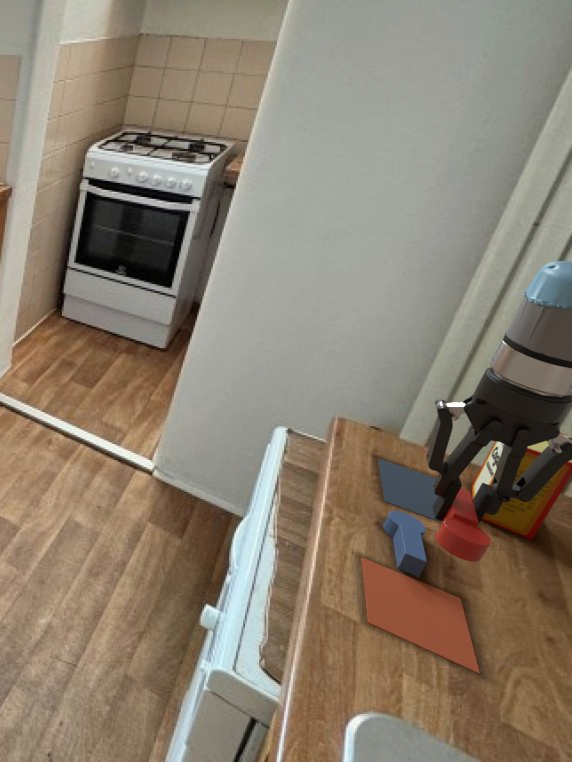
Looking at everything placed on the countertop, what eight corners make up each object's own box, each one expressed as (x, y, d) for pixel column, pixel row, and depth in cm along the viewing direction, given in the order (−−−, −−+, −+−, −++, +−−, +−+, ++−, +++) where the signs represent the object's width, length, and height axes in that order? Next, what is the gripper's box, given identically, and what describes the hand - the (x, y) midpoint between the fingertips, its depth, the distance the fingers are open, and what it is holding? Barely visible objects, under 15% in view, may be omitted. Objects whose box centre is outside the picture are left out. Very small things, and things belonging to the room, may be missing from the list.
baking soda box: (530, 541, 96) (578, 463, 90) (473, 518, 100) (515, 442, 94) (524, 507, 102) (568, 432, 96) (470, 487, 106) (509, 414, 101)
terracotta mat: (459, 600, 86) (460, 598, 86) (478, 676, 77) (480, 673, 76) (360, 559, 92) (361, 557, 92) (366, 624, 83) (368, 622, 82)
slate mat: (450, 485, 107) (451, 483, 107) (464, 533, 97) (466, 531, 97) (377, 460, 112) (378, 458, 112) (383, 503, 103) (384, 501, 103)
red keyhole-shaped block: (427, 497, 88) (437, 479, 86) (468, 513, 85) (479, 494, 84) (437, 549, 80) (448, 529, 78) (483, 568, 77) (496, 548, 76)
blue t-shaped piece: (427, 583, 89) (436, 565, 87) (387, 567, 91) (396, 549, 90) (416, 533, 97) (425, 516, 96) (381, 519, 100) (388, 503, 98)
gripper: (614, 390, 73) (525, 531, 82) (441, 345, 82) (378, 477, 91) (637, 422, 68) (540, 569, 77) (449, 370, 77) (381, 508, 85)
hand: (452, 519), depth 84 cm, fingers closed on red keyhole-shaped block, 2 cm apart
